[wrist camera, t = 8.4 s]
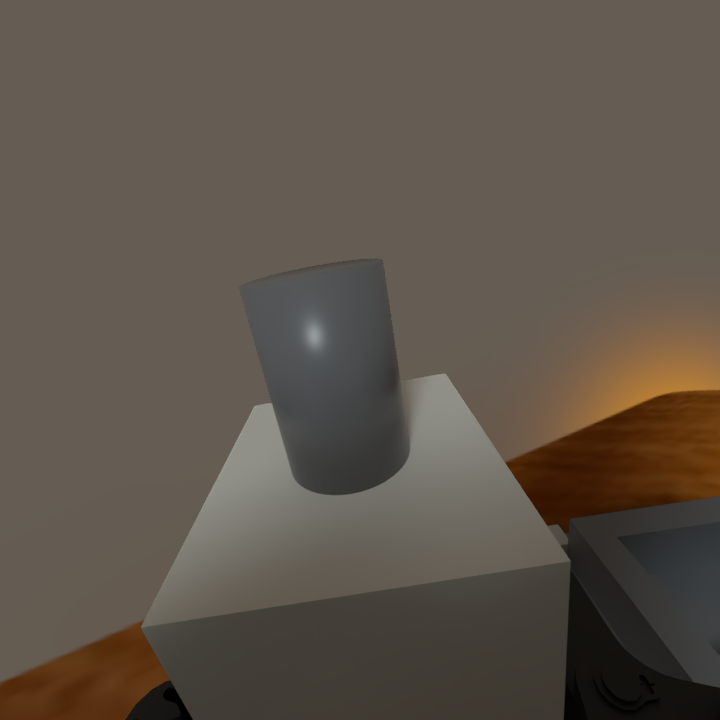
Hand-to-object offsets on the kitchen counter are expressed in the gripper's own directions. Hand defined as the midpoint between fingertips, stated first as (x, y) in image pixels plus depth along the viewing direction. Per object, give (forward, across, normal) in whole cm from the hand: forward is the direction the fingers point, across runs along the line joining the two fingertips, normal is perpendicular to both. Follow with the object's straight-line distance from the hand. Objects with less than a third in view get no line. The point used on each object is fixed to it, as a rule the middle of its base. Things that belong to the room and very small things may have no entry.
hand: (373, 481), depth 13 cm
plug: (-5, 0, -8) cm, 10 cm away
